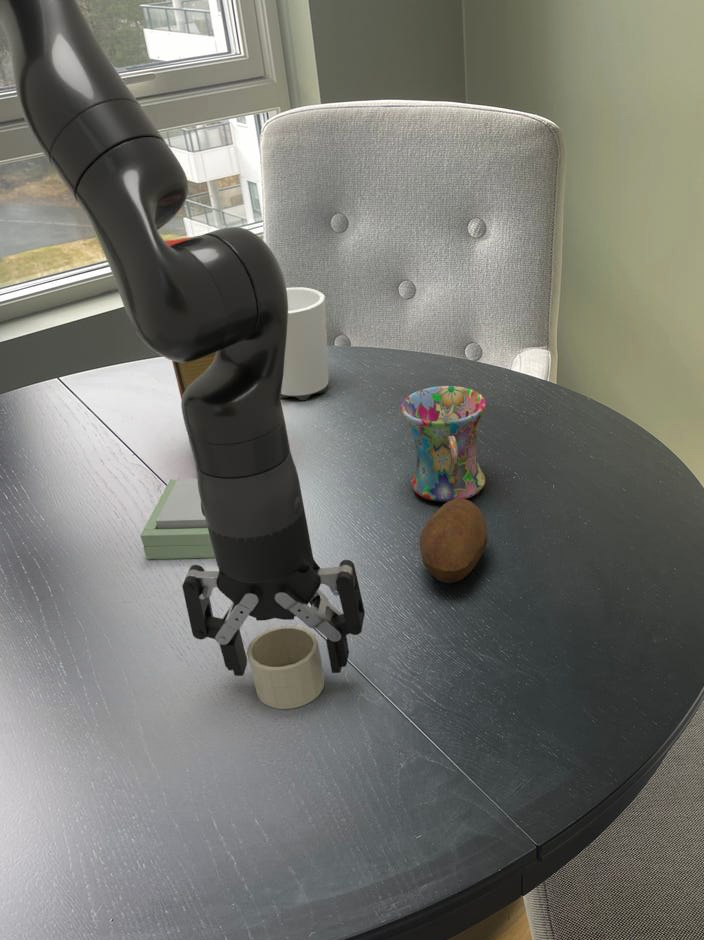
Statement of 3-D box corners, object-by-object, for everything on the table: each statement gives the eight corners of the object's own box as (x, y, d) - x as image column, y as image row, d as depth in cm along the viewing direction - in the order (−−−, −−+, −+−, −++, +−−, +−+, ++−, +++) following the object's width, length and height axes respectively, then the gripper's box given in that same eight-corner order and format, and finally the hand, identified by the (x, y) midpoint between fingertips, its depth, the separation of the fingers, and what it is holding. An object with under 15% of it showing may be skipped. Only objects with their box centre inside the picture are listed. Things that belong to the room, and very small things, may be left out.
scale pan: (158, 531, 103) (155, 520, 102) (180, 489, 110) (177, 478, 109) (242, 529, 102) (240, 518, 101) (259, 487, 109) (256, 476, 108)
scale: (146, 559, 103) (139, 535, 101) (175, 502, 112) (169, 479, 111) (258, 556, 103) (253, 532, 101) (278, 499, 112) (273, 476, 110)
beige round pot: (250, 710, 84) (240, 670, 81) (263, 665, 88) (254, 626, 86) (319, 708, 84) (311, 668, 81) (328, 664, 88) (321, 624, 85)
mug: (404, 474, 115) (396, 390, 109) (481, 465, 116) (477, 381, 110) (417, 526, 106) (409, 438, 100) (500, 516, 107) (497, 428, 101)
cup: (252, 391, 136) (235, 300, 128) (310, 370, 141) (296, 281, 133) (292, 412, 130) (276, 318, 122) (351, 389, 135) (339, 298, 127)
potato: (414, 600, 95) (409, 541, 91) (429, 537, 104) (424, 480, 100) (483, 601, 95) (480, 541, 90) (491, 538, 104) (489, 480, 99)
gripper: (351, 481, 77) (374, 639, 87) (175, 487, 78) (218, 644, 88) (339, 531, 71) (365, 695, 82) (149, 537, 72) (198, 699, 82)
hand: (289, 668), depth 85 cm, fingers open, 8 cm apart
